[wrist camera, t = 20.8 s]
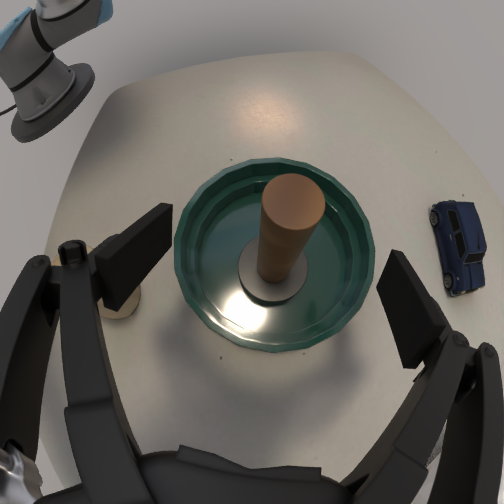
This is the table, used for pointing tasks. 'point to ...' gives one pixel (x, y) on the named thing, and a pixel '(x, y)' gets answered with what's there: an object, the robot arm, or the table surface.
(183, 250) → the bowl
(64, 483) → the table surface
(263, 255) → the wooden peg on stand
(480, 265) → the toy car
